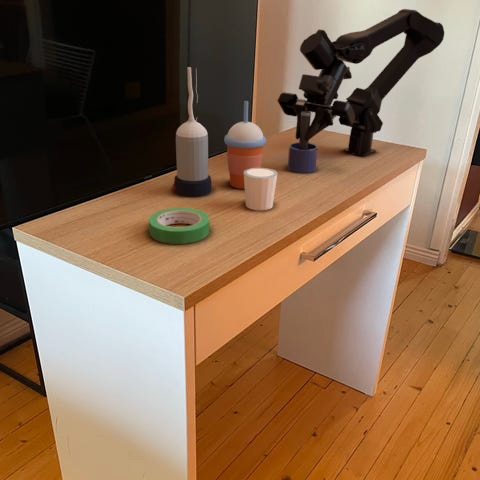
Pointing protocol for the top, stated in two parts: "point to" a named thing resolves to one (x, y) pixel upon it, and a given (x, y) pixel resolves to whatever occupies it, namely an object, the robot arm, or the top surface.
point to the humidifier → (192, 154)
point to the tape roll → (179, 234)
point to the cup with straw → (243, 149)
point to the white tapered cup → (259, 188)
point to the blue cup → (302, 158)
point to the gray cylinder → (304, 129)
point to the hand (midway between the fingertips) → (301, 139)
